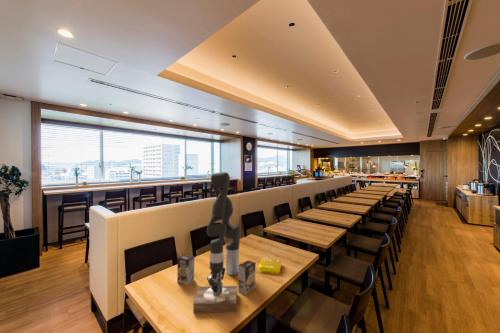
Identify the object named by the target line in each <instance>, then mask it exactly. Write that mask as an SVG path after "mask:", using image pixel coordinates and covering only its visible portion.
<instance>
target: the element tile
mask: <svg viewBox="0 0 500 333" xmlns="http://www.w3.org/2000/svg"><path fill="white" fill-rule="evenodd" d="M280 269H282V260H281V259H278V258H277V259H275V258H270V257H269V258H267V257H262V259H261V260H260V263H259V265H258V272H259V271H260V273H263V272H264V273H265V274H269V273H273V274H272V275H276V274H278V275H280V274H279V273H281V270H280ZM264 273H263V274H264Z"/></svg>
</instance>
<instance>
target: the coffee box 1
mask: <svg viewBox="0 0 500 333" xmlns="http://www.w3.org/2000/svg"><path fill="white" fill-rule="evenodd" d="M194 281H195V256H194V255H189V254H184V253H183V254H182V255H179V256H178V257H177V283H180V284H183V285H190V284H192V283H193V282H194Z"/></svg>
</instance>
